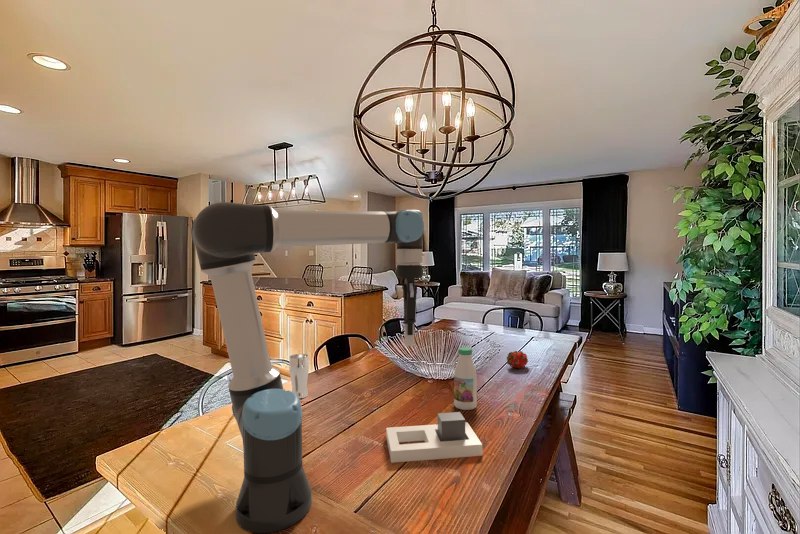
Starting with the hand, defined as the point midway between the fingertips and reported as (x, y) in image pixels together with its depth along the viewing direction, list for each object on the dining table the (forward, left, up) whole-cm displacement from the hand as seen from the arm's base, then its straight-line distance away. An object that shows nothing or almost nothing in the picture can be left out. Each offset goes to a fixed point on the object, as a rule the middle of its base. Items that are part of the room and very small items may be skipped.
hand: (409, 345), depth 112 cm
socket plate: (-8, -5, -26) cm, 28 cm away
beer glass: (+35, +36, -26) cm, 57 cm away
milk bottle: (+17, -22, -27) cm, 38 cm away
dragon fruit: (+55, -58, -27) cm, 84 cm away
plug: (-8, -10, -26) cm, 29 cm away
